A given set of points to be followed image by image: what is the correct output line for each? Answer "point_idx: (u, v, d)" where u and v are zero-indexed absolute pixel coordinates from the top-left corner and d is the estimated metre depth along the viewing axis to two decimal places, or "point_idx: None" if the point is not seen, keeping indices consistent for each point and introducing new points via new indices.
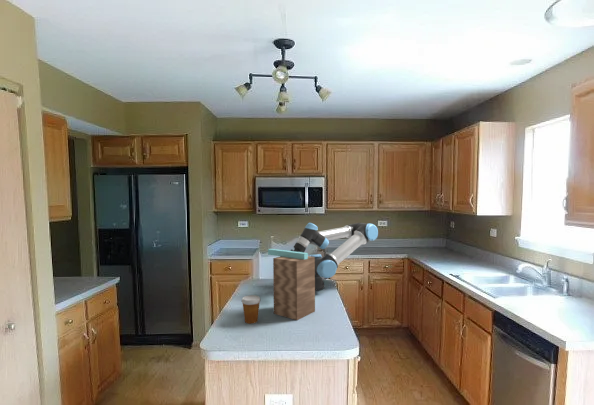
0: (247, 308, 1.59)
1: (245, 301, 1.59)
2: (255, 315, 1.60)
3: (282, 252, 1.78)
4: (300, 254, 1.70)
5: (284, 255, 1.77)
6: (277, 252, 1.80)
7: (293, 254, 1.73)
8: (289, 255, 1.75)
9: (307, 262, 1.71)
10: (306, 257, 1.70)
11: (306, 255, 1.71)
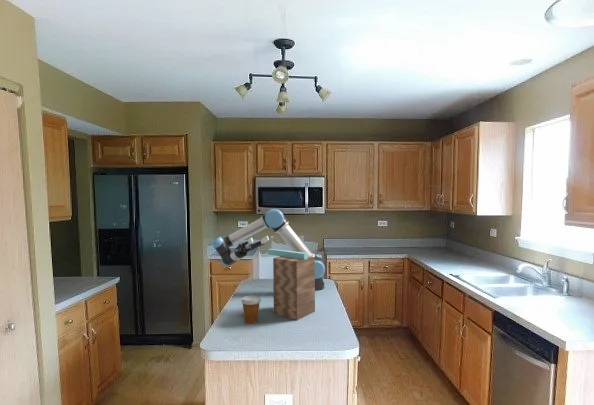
0: (247, 308, 1.59)
1: (245, 301, 1.59)
2: (255, 315, 1.60)
3: (282, 252, 1.78)
4: (300, 254, 1.70)
5: (284, 255, 1.77)
6: (277, 252, 1.80)
7: (293, 254, 1.73)
8: (289, 255, 1.75)
9: (307, 262, 1.71)
10: (306, 257, 1.70)
11: (306, 255, 1.71)
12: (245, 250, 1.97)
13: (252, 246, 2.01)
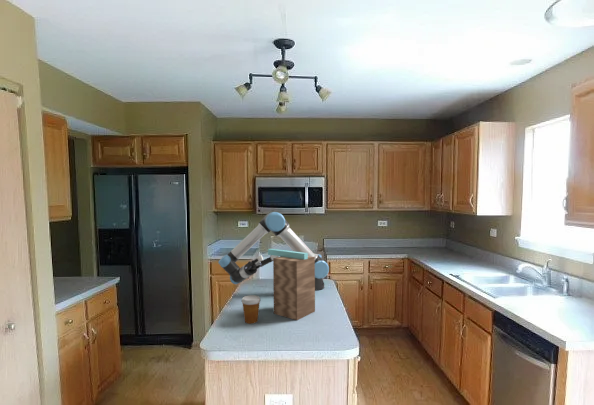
0: (247, 308, 1.59)
1: (245, 301, 1.59)
2: (255, 315, 1.60)
3: (282, 252, 1.78)
4: (300, 254, 1.70)
5: (284, 255, 1.77)
6: (277, 252, 1.80)
7: (293, 254, 1.73)
8: (289, 255, 1.75)
9: (307, 262, 1.71)
10: (306, 257, 1.70)
11: (306, 255, 1.71)
12: (255, 267, 1.89)
13: (262, 262, 1.93)
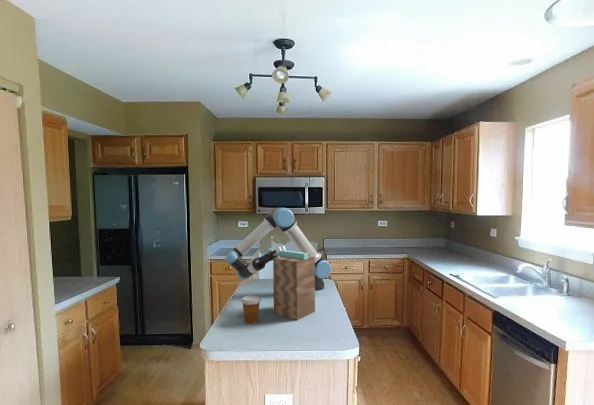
0: (247, 308, 1.59)
1: (245, 301, 1.59)
2: (255, 315, 1.60)
3: (282, 252, 1.78)
4: (300, 254, 1.70)
5: (284, 255, 1.77)
6: None
7: (293, 254, 1.73)
8: (289, 255, 1.75)
9: (307, 262, 1.71)
10: (306, 257, 1.70)
11: (306, 255, 1.71)
12: (265, 262, 1.87)
13: (269, 258, 1.88)
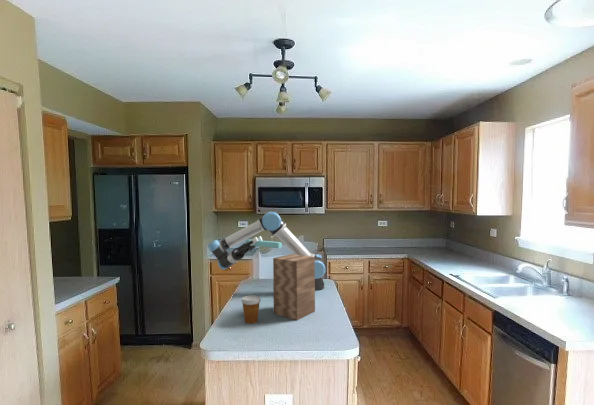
0: (247, 308, 1.59)
1: (245, 301, 1.59)
2: (255, 315, 1.60)
3: (258, 242, 1.88)
4: (275, 243, 1.80)
5: (260, 245, 1.87)
6: None
7: (268, 243, 1.83)
8: (265, 245, 1.85)
9: (307, 262, 1.71)
10: (280, 246, 1.80)
11: (281, 245, 1.80)
12: (243, 252, 1.96)
13: (247, 248, 1.98)
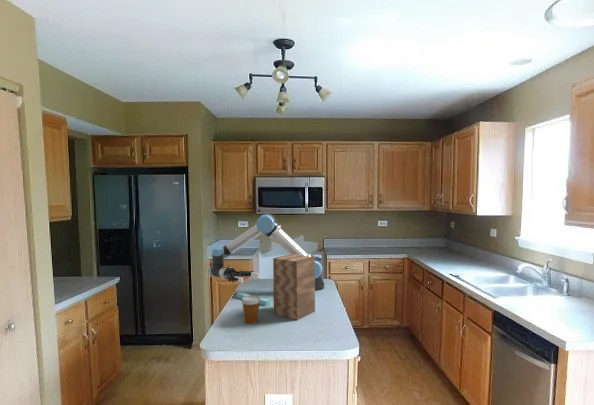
0: (247, 308, 1.59)
1: (245, 301, 1.59)
2: (255, 315, 1.60)
3: None
4: (262, 301, 1.88)
5: None
6: None
7: None
8: None
9: (307, 262, 1.71)
10: (268, 304, 1.88)
11: (268, 302, 1.88)
12: None
13: (241, 274, 2.05)
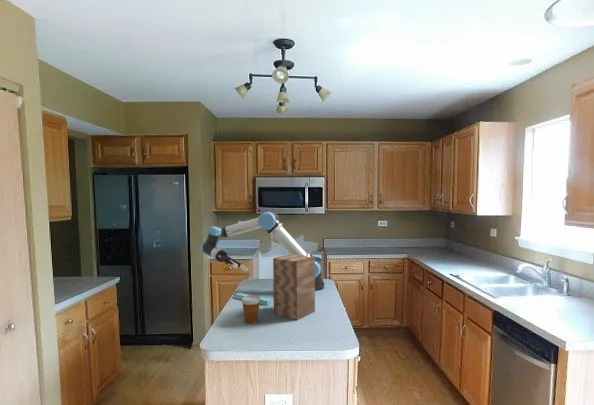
0: (247, 308, 1.59)
1: (245, 301, 1.59)
2: (255, 315, 1.60)
3: None
4: (264, 301, 1.89)
5: None
6: None
7: None
8: None
9: (307, 262, 1.71)
10: (269, 303, 1.89)
11: (269, 302, 1.89)
12: None
13: None
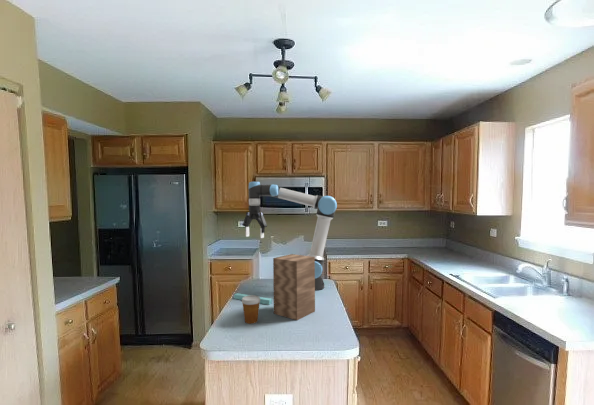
0: (247, 308, 1.59)
1: (245, 301, 1.59)
2: (255, 315, 1.60)
3: None
4: (265, 300, 1.90)
5: None
6: None
7: None
8: None
9: (307, 262, 1.71)
10: (270, 303, 1.90)
11: (271, 301, 1.90)
12: (255, 217, 2.10)
13: (250, 219, 2.15)
